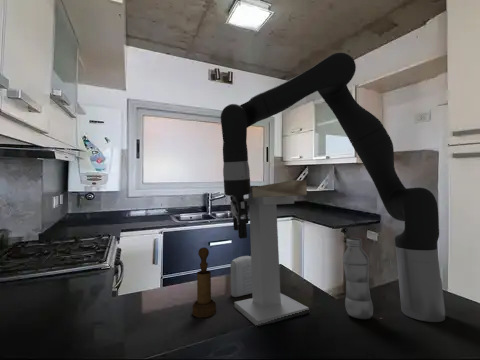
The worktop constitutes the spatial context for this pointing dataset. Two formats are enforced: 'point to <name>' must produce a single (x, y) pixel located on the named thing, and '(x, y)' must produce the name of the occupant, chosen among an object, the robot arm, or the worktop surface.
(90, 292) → the worktop surface
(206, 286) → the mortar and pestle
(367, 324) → the worktop surface
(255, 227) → the stand
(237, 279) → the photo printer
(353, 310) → the plastic bottle
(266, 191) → the birch bar
